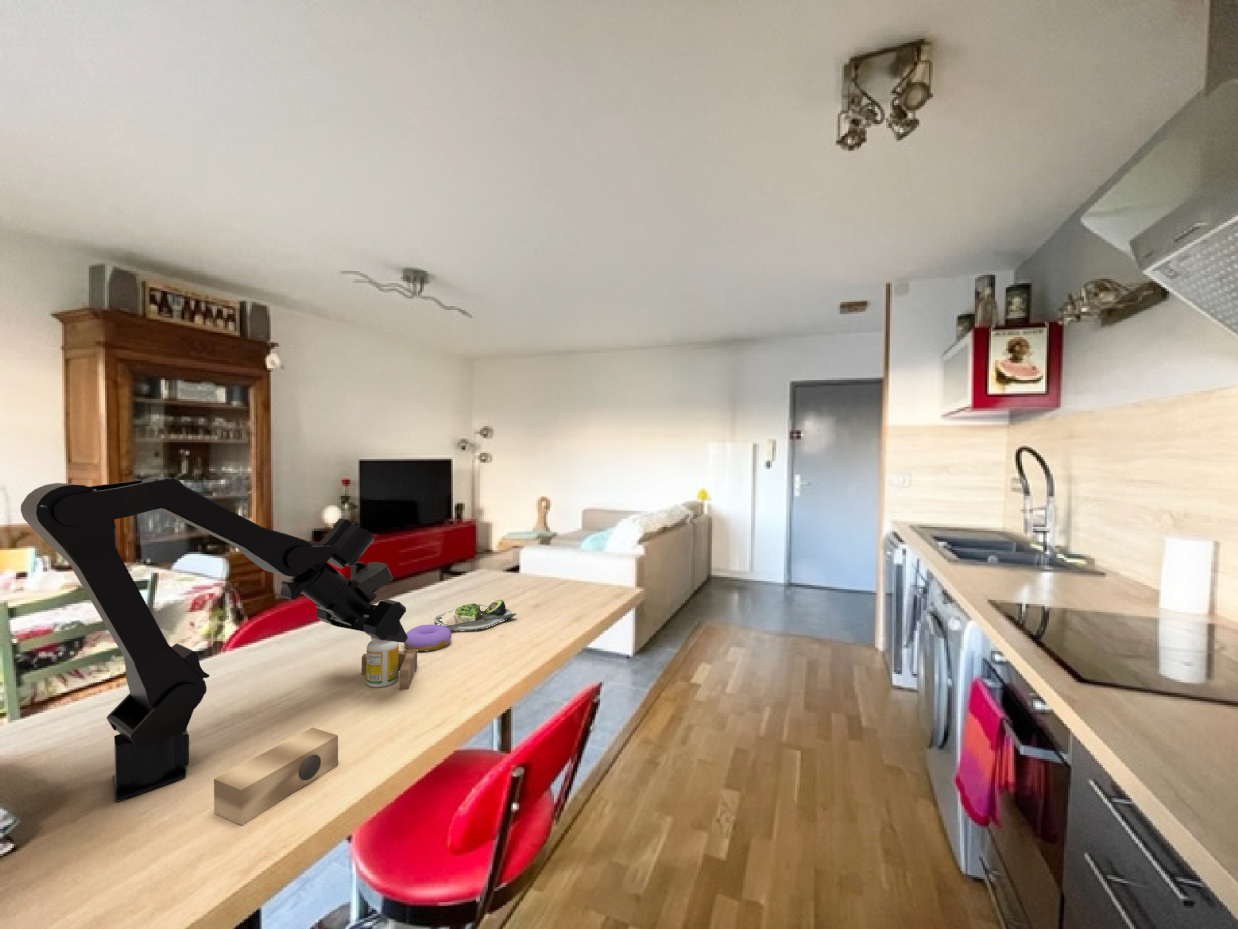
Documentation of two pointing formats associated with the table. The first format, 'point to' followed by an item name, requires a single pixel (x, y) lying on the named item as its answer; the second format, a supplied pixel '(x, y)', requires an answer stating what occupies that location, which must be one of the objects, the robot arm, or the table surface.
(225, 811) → the beam
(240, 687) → the table surface
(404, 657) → the v block
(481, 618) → the salad plate
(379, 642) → the supplement bottle
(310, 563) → the robot arm
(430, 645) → the donut
